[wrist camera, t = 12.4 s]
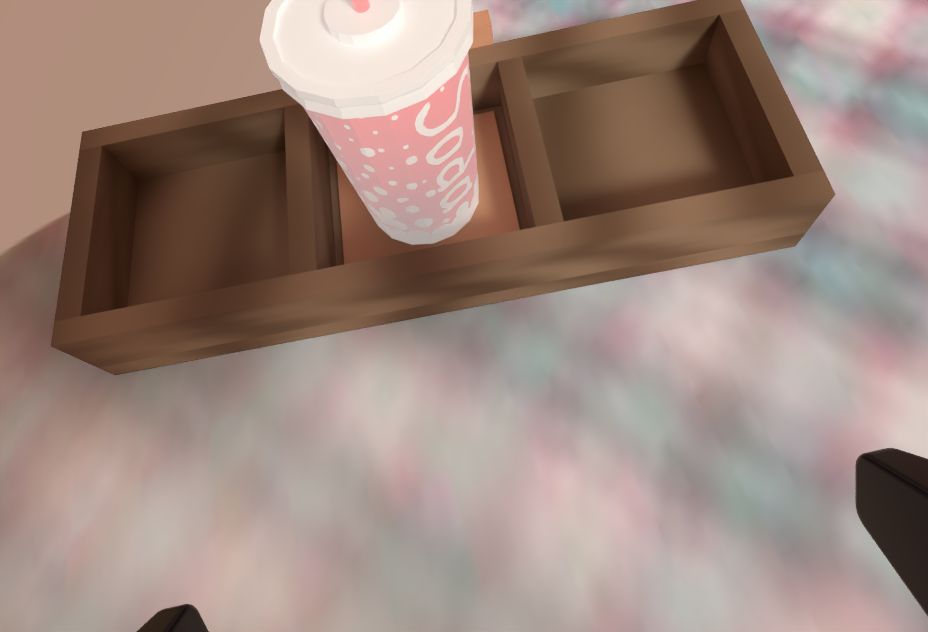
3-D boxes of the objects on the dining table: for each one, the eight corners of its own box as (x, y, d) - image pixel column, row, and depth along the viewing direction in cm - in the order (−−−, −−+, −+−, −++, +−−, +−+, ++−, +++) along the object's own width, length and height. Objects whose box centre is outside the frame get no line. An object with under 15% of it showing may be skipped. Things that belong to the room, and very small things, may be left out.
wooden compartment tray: (708, 46, 28) (737, -45, 23) (795, 246, 23) (849, 176, 19) (134, 167, 29) (67, 101, 25) (114, 375, 25) (29, 336, 21)
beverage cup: (399, 289, 23) (218, -51, 10) (328, 186, 26) (111, -193, 13) (527, 207, 24) (504, -207, 11) (446, 115, 26) (351, -313, 14)
